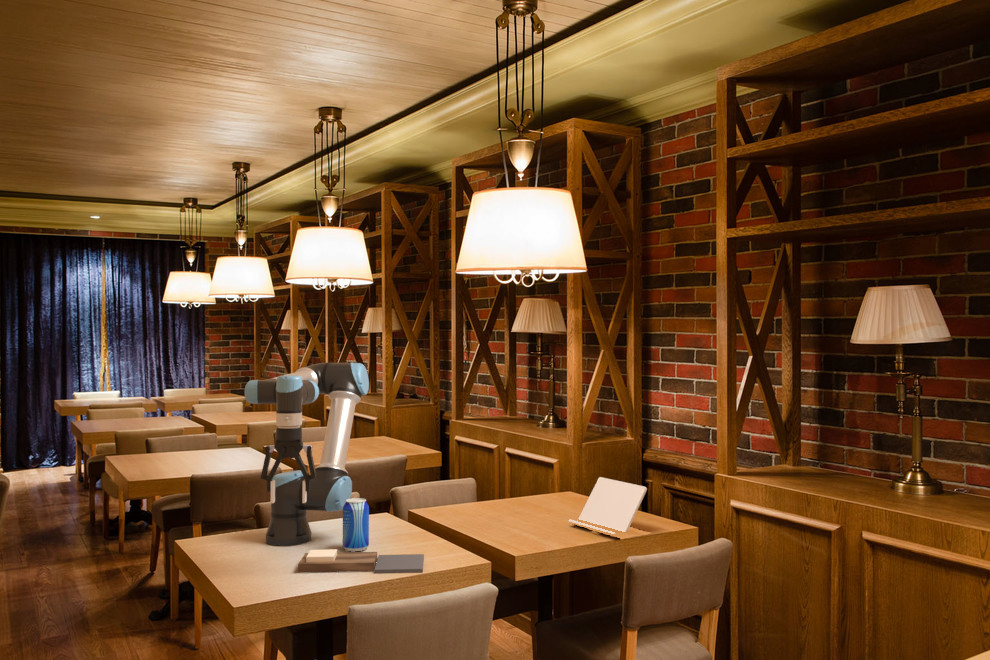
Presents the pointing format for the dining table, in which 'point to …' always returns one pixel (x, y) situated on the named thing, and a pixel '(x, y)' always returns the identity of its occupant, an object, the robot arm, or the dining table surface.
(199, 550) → the dining table surface
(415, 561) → the mat
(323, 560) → the cream flat block
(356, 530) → the beer can
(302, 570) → the serving board
